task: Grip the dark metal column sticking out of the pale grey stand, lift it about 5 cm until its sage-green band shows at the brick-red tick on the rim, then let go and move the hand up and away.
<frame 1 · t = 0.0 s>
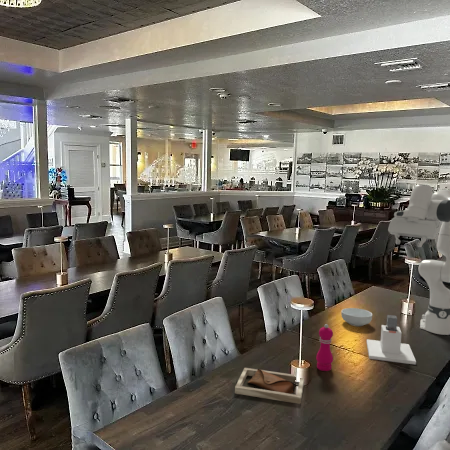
hand: (408, 245, 183), 54 cm above the table, tool tilted 30°, fingers open, 8 cm apart
cereal bowl: (356, 324, 237), on the table
pepper mill: (324, 368, 182), on the table
sunglasses case: (270, 387, 164), touching birch tray rim
jack column: (391, 332, 198), point 10 cm above the table, slide at 0.0 cm
birch tray rim: (270, 387, 164), on the table
stand housing: (389, 352, 199), on the table
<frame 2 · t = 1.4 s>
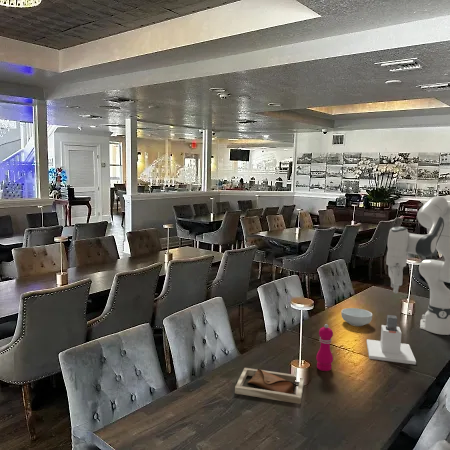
hand: (394, 290, 195), 31 cm above the table, tool pointing down, fingers open, 8 cm apart
nothing on the table moved.
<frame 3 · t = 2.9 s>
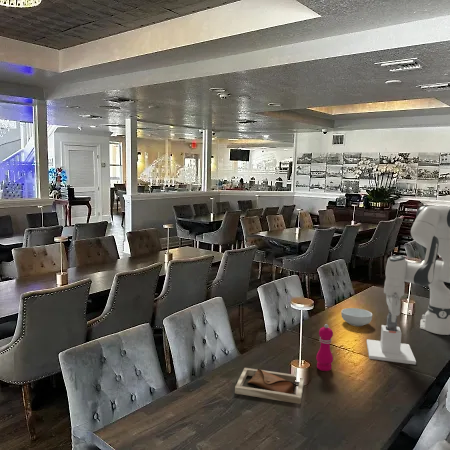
hand: (391, 318, 197), 17 cm above the table, tool pointing down, fingers open, 8 cm apart
nothing on the table moved.
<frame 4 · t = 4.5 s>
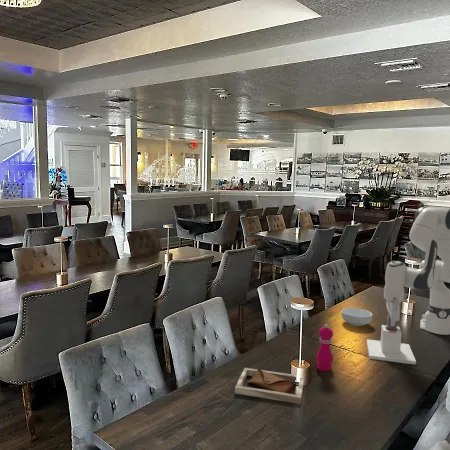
hand: (391, 323, 197), 15 cm above the table, tool pointing down, fingers closed on jack column, 4 cm apart
jack column: (391, 332, 198), point 10 cm above the table, slide at 0.0 cm, touching gripper
everything else where it was.
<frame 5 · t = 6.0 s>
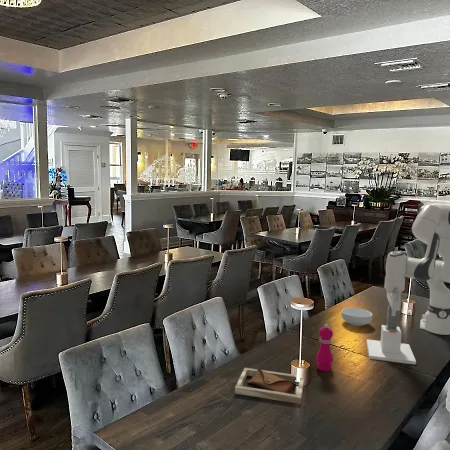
hand: (392, 313, 197), 19 cm above the table, tool pointing down, fingers closed on jack column, 4 cm apart
jack column: (391, 323, 197), point 15 cm above the table, slide at 4.7 cm, touching gripper
everything else where it was.
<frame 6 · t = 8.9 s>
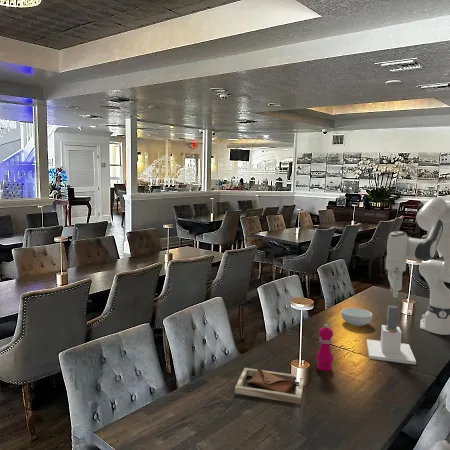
hand: (393, 294, 195), 29 cm above the table, tool pointing down, fingers open, 8 cm apart
jack column: (391, 322, 197), point 15 cm above the table, slide at 4.9 cm
everything else where it was.
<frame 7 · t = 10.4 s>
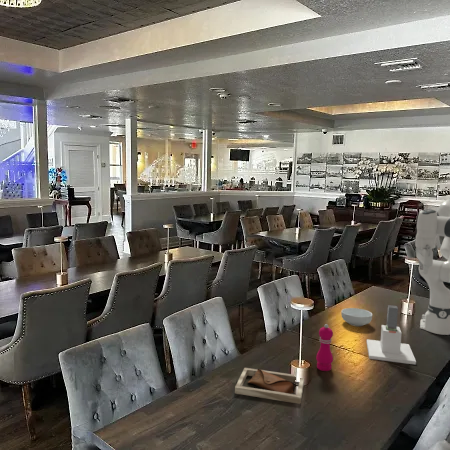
hand: (423, 271, 200), 39 cm above the table, tool pointing down, fingers open, 8 cm apart
nothing on the table moved.
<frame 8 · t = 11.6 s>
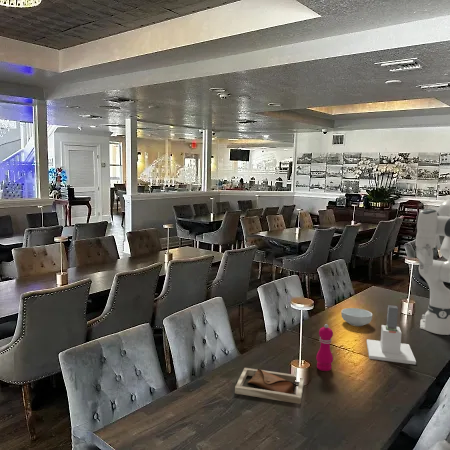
hand: (423, 271, 200), 39 cm above the table, tool pointing down, fingers open, 8 cm apart
nothing on the table moved.
at the end: jack column slide at 4.9 cm; the gripper is holding nothing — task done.
